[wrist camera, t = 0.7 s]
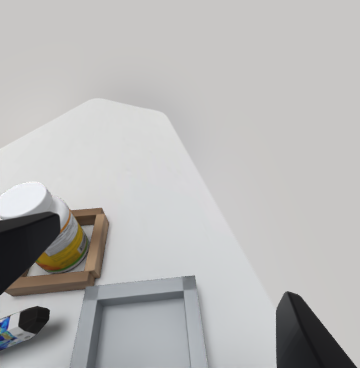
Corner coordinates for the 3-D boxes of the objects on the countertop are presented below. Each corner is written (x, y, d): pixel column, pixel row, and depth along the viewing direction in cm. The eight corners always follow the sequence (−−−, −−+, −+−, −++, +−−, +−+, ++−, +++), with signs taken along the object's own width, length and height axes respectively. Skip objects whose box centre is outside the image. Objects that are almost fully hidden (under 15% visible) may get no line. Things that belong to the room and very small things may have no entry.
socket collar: (98, 287, 22) (92, 280, 21) (7, 296, 22) (-5, 290, 20) (109, 216, 28) (105, 207, 27) (40, 222, 28) (32, 213, 26)
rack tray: (213, 434, 15) (218, 441, 13) (69, 455, 14) (49, 467, 12) (193, 286, 22) (194, 275, 20) (95, 297, 21) (85, 286, 19)
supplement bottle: (33, 252, 25) (-25, 198, 18) (76, 224, 28) (40, 167, 21) (53, 285, 22) (-6, 237, 15) (98, 250, 25) (65, 196, 18)
